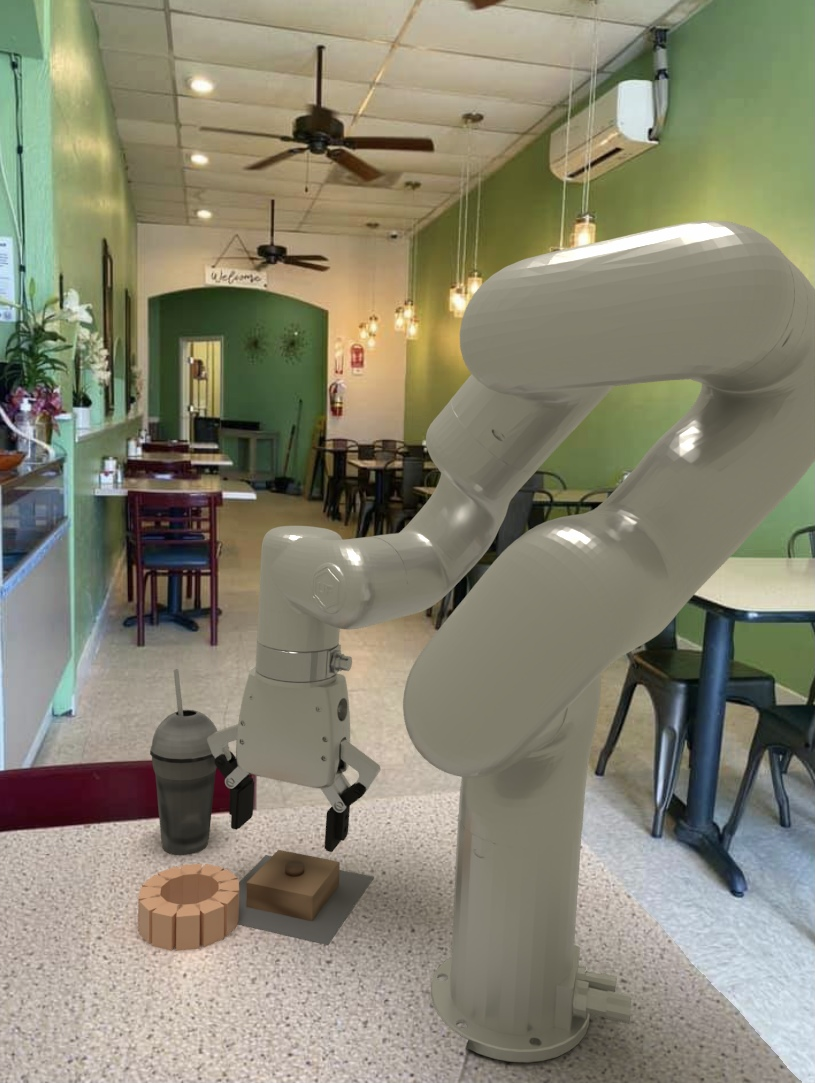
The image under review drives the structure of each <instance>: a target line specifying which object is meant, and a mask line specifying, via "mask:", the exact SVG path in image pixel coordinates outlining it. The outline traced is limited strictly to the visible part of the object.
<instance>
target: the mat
mask: <svg viewBox="0 0 815 1083" xmlns="http://www.w3.org/2000/svg"><path fill="white" fill-rule="evenodd" d="M272 856H273V855H268V854H267V855H266V854H265V856H263V857H262V858H261V860H259V862H257V863H256V864H255V866H253V867H252V868H251V869H250V871H248V873H247V874H246V875H244V877H243V878H242V879H241V880H239V922H238V925H239V926H243V927H247V928H252V929H255V930H260V931H264V932H269V933H273V934H278V935H281V936H285V937H290V938H295V939H299V940H304V941H308V942H312V943H316V944H321V945H324V946H329V944H330V943H331V942H332V940H333V939H334V937H335V935H336V934H337V932H339V930H340V928H341V927H342V925H343V924H344V923H345V921H346V920H347V918H348V916H349V915H350V914H351V912H352V911H353V909H354V908H355V906H356V905H357V904H358V902H359V900H360V899H361V898H362V896H363V894H364V893H365V891H366V890H367V889H368V887H369V885H370V884H371V882H372V881H373V880H374V878H375V876H372V875H367V874H363V873H357V872H353V871H348V870H344V869H343V870H342V869H340V873H339V886H338V887H337V888H336V890H335V891H334V893H333V894H332V895H331V897H330V898H329V899H328V901H327V902H326V903H325V905H324V906H323V907H322V909H321V910H320V911H319V913H318V914H317V915H316V917H315V918H314V919H313V921H308V920H303V919H299V918H294V917H290V916H285V915H281V914H276V913H272V912H267V911H263V910H258V909H254V908H249V907H246V900H247V882H248V881H249V880H250V879H251V878H252V877H253V876H254V875H255V873H256V872H257V871H258V870H259V869H260V868H261V867H262V866H263V865H264V864H265V863H266V862H267V861H268V860H269V859H270V858H271V857H272ZM238 925H237V926H238Z"/></svg>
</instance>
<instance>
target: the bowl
mask: <svg viewBox="0 0 815 1083" xmlns="http://www.w3.org/2000/svg"><path fill="white" fill-rule="evenodd" d="M202 865H203V864H202V863H195V864H194V863H192V864H181V865H180V867H178V866H173V867H171V868H167V869H165V870H162V871H159V872H157V874H153V875H152V876H151V877H150V878H149V879H147V880H146V881H145V882H143V884H141V886H140V888H139V894H138V898H137V899H138V900H137V902H138V904H137V905H138V906H137V907H138V908H137V909H138V913H137V914H138V916H137V917H138V918H137V920H138V922H137V923H138V927H137V928H138V935H139V936H140V937H141V938H142V939H143V940H144V941H145V942H146V943H147V944H148V945H150V944H151V946H152V947H155V948H158V949H164V950H167V951H173V950H174V949H175V948H176V949H175V951H176V952H180V951H188V950H198V949H199V950H200V945H201V946H202V947H203V948H206V947H208V946H210V945H213V944H216V943H217V942H219V941H222V940H224V937H226V938H227V937H228V936H229V935H230V934H231V933H232V932H233V931H234V930H235V929H236V927H237V926H238V922H239V882H240V880H239V878H238V876H236V874H234V873H233V872H232V871H231V870H229V869H227V868H224V867H223V866H217V865H213V864H208V863H205V864H204V865H203V866H202Z"/></svg>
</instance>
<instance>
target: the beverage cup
mask: <svg viewBox="0 0 815 1083" xmlns="http://www.w3.org/2000/svg"><path fill="white" fill-rule="evenodd" d="M179 671H180V670H179V669H178V668H177V669H173V677H174V678H173V679H174V688H175V698H176V705H177V706H176V708H177V711H175V712H172V713H171V714H169V715H168V716H166V717H165V718H164V719H163V720H162V721H161V722H160V724H158V726H157V727H156V729H155V732H154V734H153V736H152V743H151V746H150V751H149V755H150V756H151V762H152V768H153V771H154V773H155V783H156V794H157V796H156V797H157V806H158V816H159V828H160V829H159V830H160V831H159V832H160V839H161V840H160V842H161V846H162V849H163V851H164V852H166V853H167V854H169V855H174V856H189V855H193V854H197V853H199V852H201V851H203V850H205V849H206V847H207V846H208V844H209V840H210V834H211V833H210V832H211V822H212V820H211V819H212V812H213V801H214V791H215V781H216V773H217V772H216V771H217V769H218V768H217V767H216V765H215V757H214V756H213V754H212V752H211V749H210V747H209V744H208V742H207V738H208V737H209V736H210V735H212V734H213V733H215V732H217V731H218V729H217V726H216V725H215V724H214V722H213V720H212V719H210V718H209V717H208V716H207V715H205V714H204V713H203V712H201V711H198V710H194V709H184V708H183V700H182V691H181V690H182V689H181V681H180V673H179Z"/></svg>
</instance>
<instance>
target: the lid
mask: <svg viewBox="0 0 815 1083" xmlns="http://www.w3.org/2000/svg"><path fill="white" fill-rule="evenodd" d="M271 856H272V857H271V858H270V859H269V860H268V861H267V862H266V863H265V864H264V865H263V866H262V867H261V868H260V869H259V870H258V871H257V872H256V873H255V875H254V876H253V877H252V878H251V879H250V880H249V881H248V882H247V900H246V907H249V908H254V909H258V910H263V911H267V912H272V913H276V914H281V915H285V916H290V917H294V918H299V919H303V920H308V921H313V919H314V918H315V917H316V915H317V914H318V913H319V911H320V910H321V909H322V907H323V906H324V905H325V903H326V902H327V901H328V899H329V898H330V897H331V895H332V894H333V893H334V891H335V890H336V888H337V887H338V886H339V873H340V870H341V868H340V866H341V864H340V863H341V861H338V860H332V859H326V858H323V857H318V856H312V855H307V854H303V853H296V852H293V851H286V850H282V849H278V850H276V852H275V853H274V854H273V855H271Z"/></svg>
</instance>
